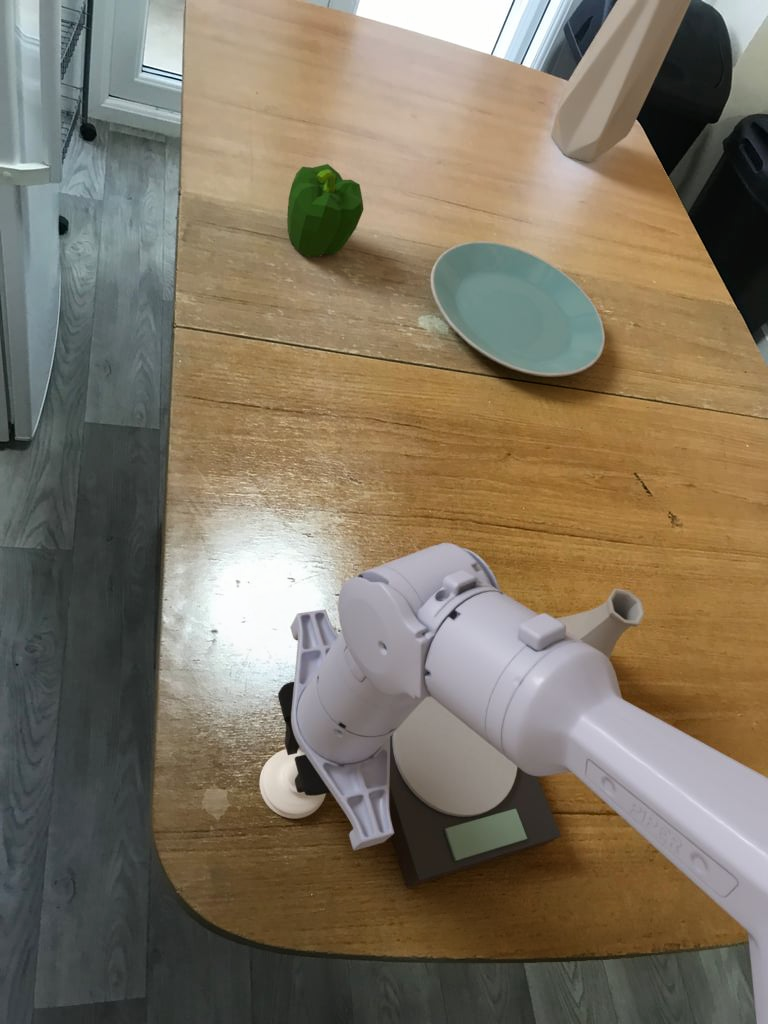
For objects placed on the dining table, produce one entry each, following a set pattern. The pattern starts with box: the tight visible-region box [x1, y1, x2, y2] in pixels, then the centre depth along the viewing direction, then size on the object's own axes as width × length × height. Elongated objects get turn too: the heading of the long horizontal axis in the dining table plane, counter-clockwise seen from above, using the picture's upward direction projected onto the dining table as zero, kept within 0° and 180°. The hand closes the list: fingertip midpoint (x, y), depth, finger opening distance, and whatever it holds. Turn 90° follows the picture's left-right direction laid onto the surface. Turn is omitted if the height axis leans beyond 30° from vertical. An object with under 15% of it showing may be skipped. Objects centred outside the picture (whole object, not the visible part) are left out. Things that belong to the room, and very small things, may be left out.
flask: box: [554, 588, 645, 660], centre depth 71 cm, size 7×7×10 cm
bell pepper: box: [286, 163, 364, 258], centre depth 92 cm, size 8×8×10 cm
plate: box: [429, 240, 606, 378], centre depth 99 cm, size 22×22×3 cm
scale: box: [389, 697, 562, 889], centre depth 64 cm, size 14×12×3 cm
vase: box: [550, 0, 692, 164], centre depth 118 cm, size 12×12×33 cm
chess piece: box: [259, 747, 327, 819], centre depth 56 cm, size 5×5×10 cm
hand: (305, 766), depth 58 cm, fingers closed on chess piece
